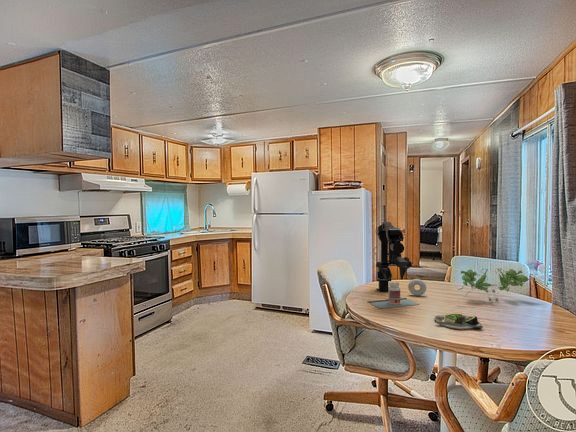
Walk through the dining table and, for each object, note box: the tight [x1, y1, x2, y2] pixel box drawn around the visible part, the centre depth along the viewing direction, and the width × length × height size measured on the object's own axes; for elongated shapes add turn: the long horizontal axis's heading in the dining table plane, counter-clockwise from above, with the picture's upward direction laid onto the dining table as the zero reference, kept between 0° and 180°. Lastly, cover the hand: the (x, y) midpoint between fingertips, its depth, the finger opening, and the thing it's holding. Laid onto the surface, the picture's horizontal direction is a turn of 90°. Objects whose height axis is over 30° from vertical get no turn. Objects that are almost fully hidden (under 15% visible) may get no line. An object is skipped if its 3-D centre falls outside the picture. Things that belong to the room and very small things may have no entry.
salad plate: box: [433, 313, 484, 331], centre depth 145 cm, size 19×18×5 cm
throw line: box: [367, 297, 408, 304], centre depth 183 cm, size 2×24×1 cm, turn 105°
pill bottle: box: [387, 281, 401, 305], centre depth 176 cm, size 6×6×11 cm
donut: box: [407, 278, 427, 297], centre depth 192 cm, size 10×4×10 cm, turn 70°
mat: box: [369, 298, 420, 310], centre depth 176 cm, size 10×24×1 cm, turn 105°
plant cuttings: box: [457, 268, 530, 303], centre depth 182 cm, size 35×17×22 cm
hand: (394, 280), depth 176 cm, fingers open, 9 cm apart
